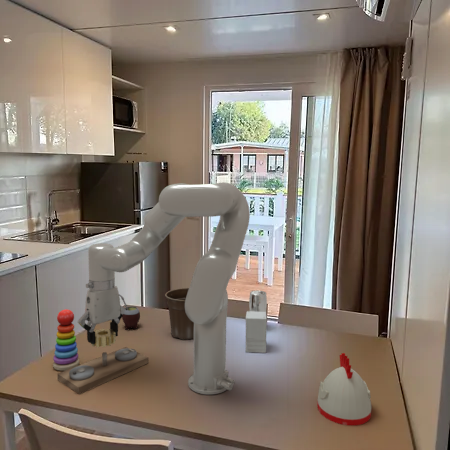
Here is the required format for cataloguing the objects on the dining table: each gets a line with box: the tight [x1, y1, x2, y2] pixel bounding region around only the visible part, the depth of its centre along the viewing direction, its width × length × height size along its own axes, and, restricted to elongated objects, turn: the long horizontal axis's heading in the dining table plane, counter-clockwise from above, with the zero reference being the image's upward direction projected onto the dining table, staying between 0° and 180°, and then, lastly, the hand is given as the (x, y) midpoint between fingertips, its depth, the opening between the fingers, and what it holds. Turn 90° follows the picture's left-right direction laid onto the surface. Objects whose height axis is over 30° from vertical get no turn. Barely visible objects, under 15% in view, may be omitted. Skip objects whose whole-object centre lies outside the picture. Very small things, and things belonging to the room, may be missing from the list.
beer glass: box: [248, 289, 268, 313], centre depth 164 cm, size 7×7×15 cm
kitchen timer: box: [316, 352, 372, 426], centre depth 110 cm, size 14×14×15 cm
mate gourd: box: [119, 293, 141, 331], centre depth 164 cm, size 8×8×15 cm
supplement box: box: [245, 310, 268, 354], centre depth 147 cm, size 7×7×13 cm
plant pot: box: [164, 287, 194, 340], centre depth 159 cm, size 16×16×16 cm
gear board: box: [57, 346, 149, 395], centre depth 129 cm, size 12×25×6 cm, turn 140°
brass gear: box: [91, 328, 116, 348], centre depth 128 cm, size 7×7×3 cm
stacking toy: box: [52, 308, 80, 372], centre depth 132 cm, size 8×8×19 cm
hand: (103, 338), depth 128 cm, fingers closed on brass gear, 7 cm apart
